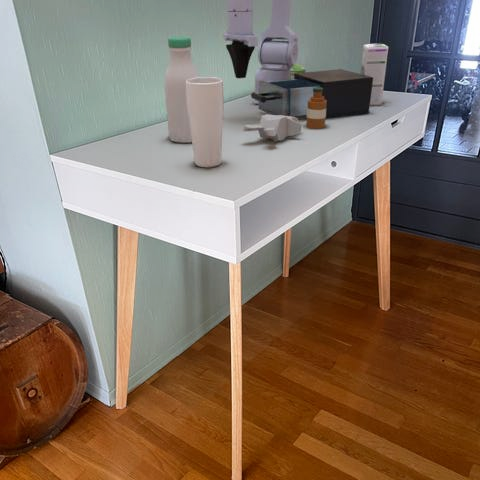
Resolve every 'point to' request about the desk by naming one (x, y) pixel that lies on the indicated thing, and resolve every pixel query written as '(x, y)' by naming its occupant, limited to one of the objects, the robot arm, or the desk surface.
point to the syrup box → (375, 69)
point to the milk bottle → (178, 88)
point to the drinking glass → (205, 119)
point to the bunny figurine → (276, 127)
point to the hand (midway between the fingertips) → (240, 77)
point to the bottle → (316, 110)
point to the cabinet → (342, 91)
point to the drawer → (285, 96)
